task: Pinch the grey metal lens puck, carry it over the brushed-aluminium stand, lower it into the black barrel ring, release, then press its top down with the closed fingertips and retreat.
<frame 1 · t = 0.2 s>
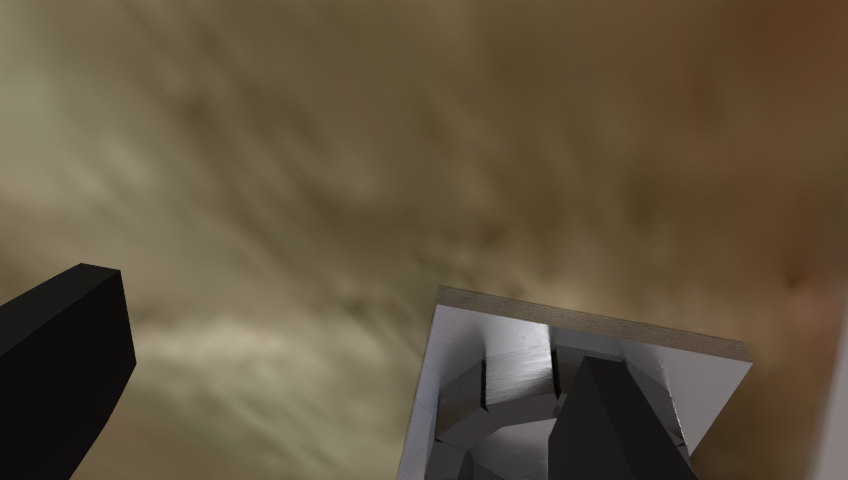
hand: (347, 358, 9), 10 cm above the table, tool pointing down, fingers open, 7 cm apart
barrel stand: (549, 413, 24), on the table
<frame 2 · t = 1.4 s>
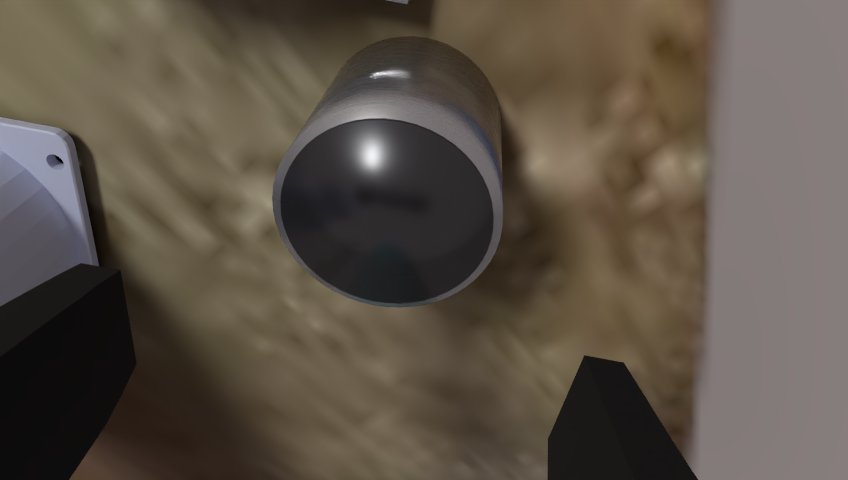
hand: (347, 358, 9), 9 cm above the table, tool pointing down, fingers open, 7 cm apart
lens puck: (412, 125, 17), on the table
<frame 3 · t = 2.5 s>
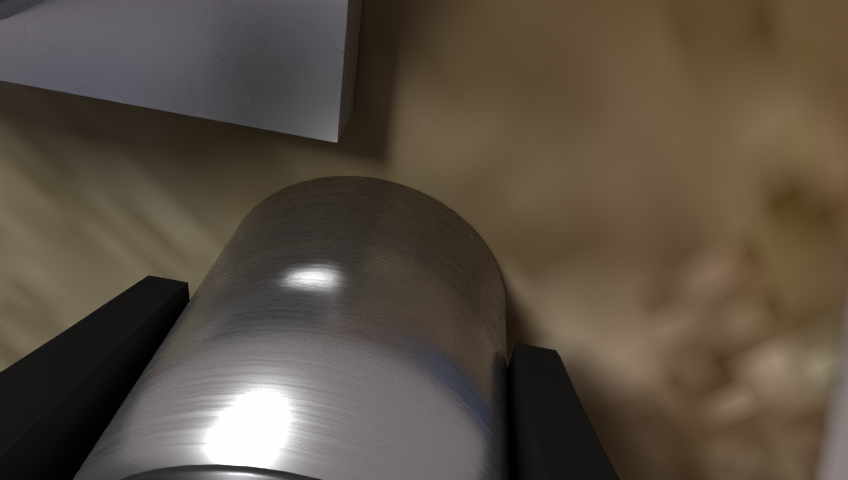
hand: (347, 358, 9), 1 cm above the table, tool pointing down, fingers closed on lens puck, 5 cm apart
lens puck: (363, 300, 11), on the table, touching gripper
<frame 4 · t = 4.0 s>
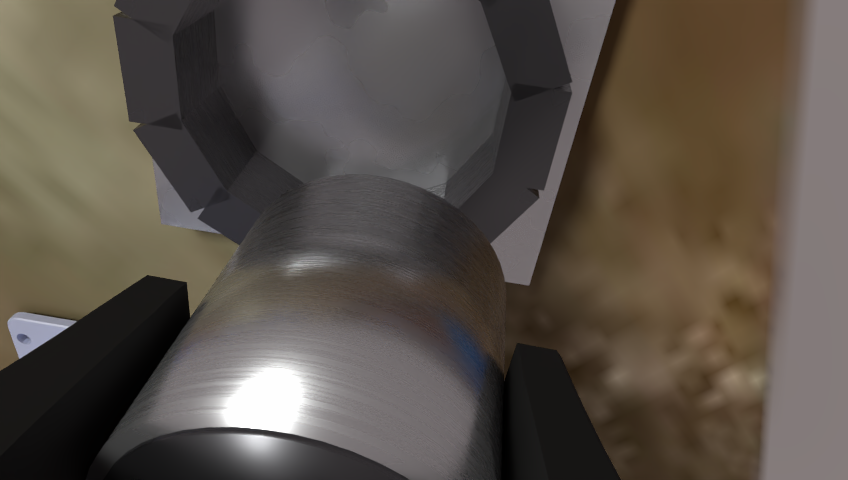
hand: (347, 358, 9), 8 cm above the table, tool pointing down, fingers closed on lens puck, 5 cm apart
lens puck: (372, 292, 11), point 6 cm above the table, touching gripper
barrel stand: (365, 60, 15), on the table
when the fingers open (4 cm above the table, at t = 5.5 s): lens puck stays where it is, resting on barrel stand.
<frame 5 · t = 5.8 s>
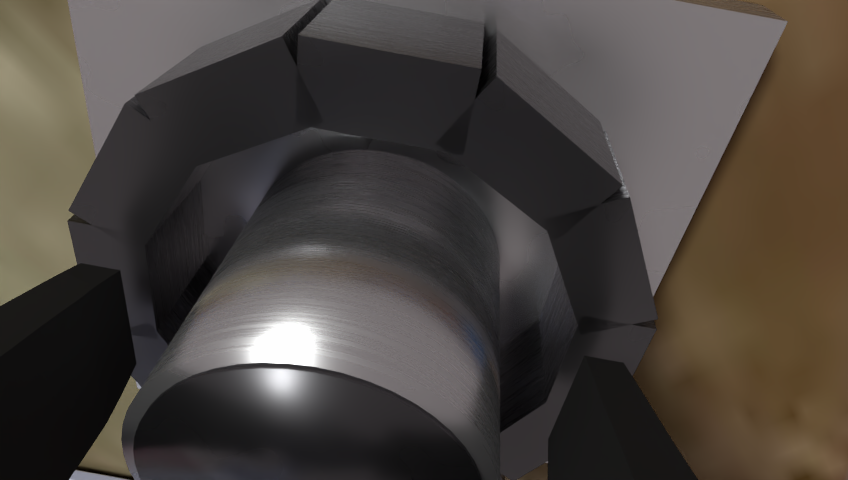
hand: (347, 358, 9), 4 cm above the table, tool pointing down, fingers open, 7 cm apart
lens puck: (374, 263, 12), point 1 cm above the table, touching barrel stand
barrel stand: (385, 225, 13), on the table
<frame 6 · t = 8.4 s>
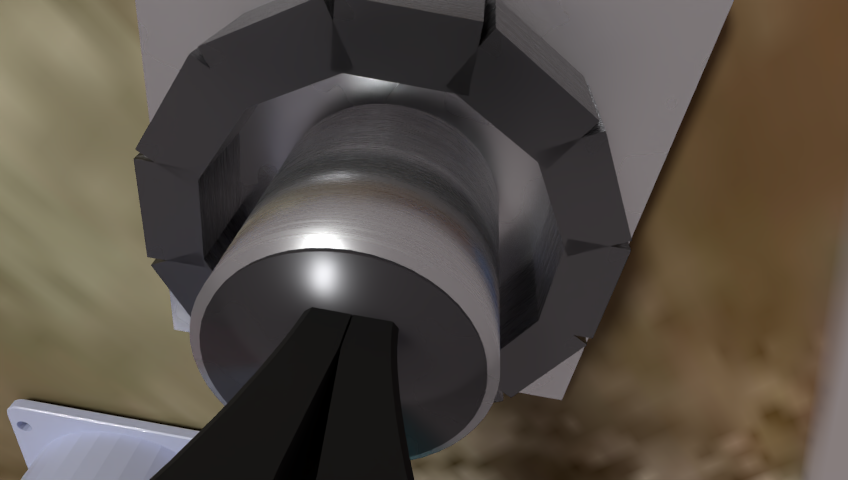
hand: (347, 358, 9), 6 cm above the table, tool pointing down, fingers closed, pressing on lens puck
lens puck: (388, 207, 14), point 1 cm above the table, touching barrel stand, gripper
barrel stand: (398, 176, 14), on the table
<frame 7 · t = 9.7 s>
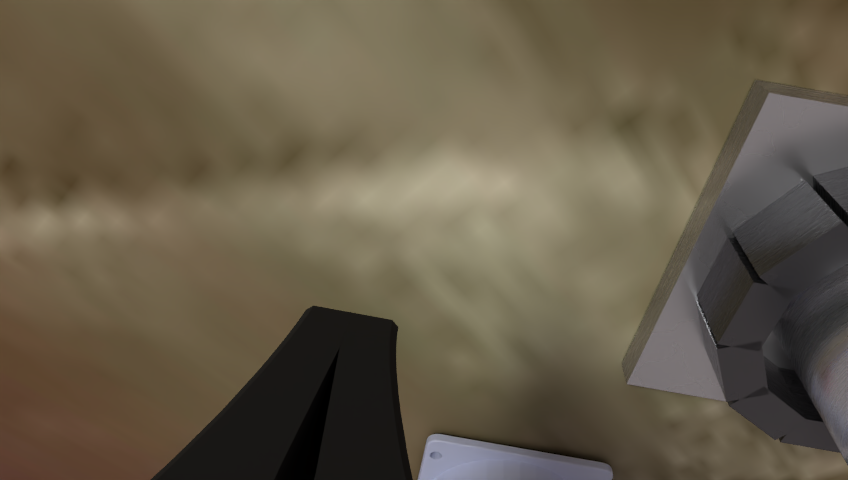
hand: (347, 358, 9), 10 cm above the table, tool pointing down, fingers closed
barrel stand: (846, 274, 19), on the table
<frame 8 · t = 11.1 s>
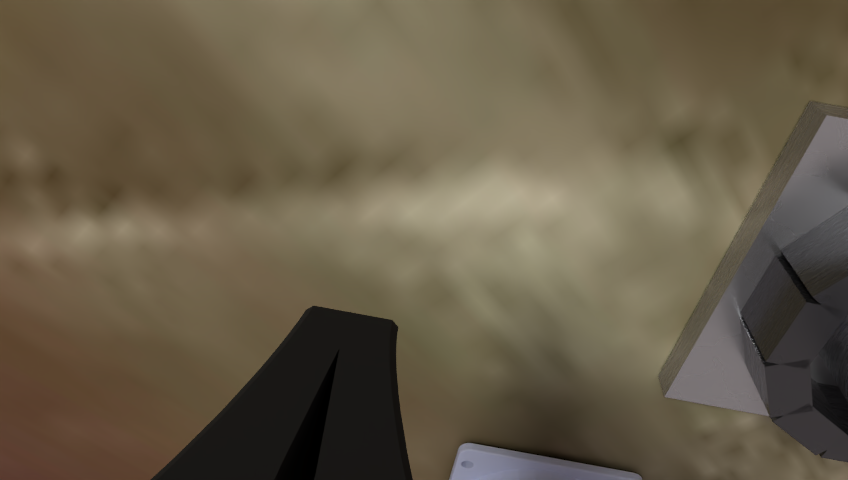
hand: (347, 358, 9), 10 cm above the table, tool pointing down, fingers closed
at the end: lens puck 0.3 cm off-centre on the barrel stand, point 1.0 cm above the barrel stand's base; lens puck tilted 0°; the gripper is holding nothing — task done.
